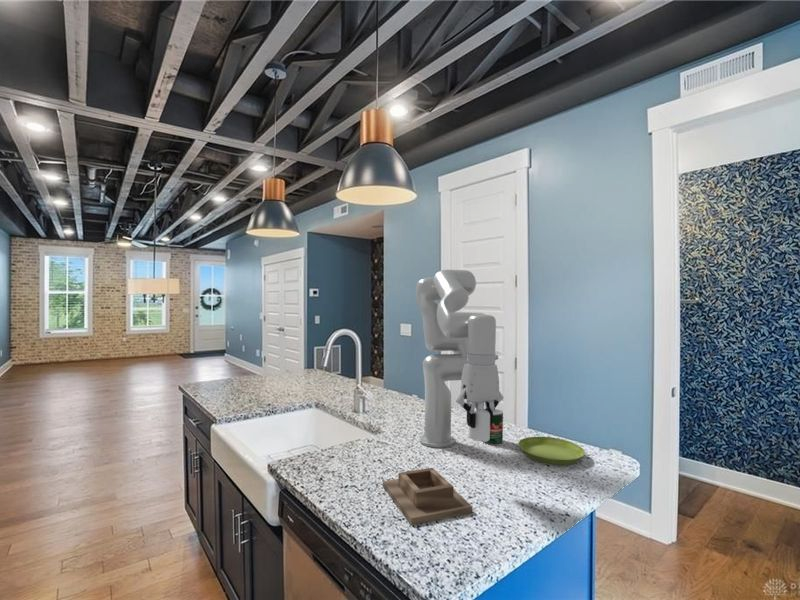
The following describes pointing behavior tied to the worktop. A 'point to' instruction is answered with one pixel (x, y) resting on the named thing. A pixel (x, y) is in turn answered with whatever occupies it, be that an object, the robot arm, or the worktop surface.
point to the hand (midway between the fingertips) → (479, 424)
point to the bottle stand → (425, 496)
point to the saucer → (551, 450)
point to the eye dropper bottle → (480, 424)
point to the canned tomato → (496, 429)
